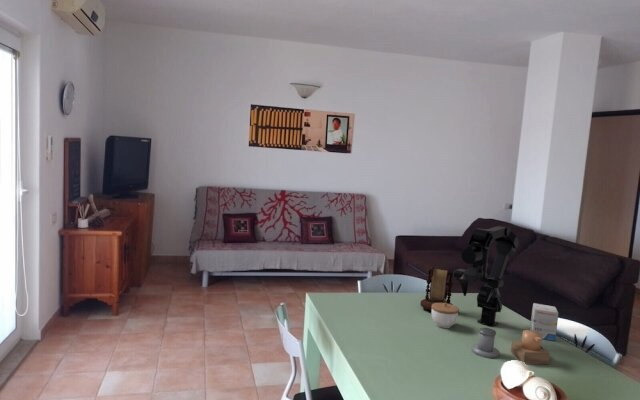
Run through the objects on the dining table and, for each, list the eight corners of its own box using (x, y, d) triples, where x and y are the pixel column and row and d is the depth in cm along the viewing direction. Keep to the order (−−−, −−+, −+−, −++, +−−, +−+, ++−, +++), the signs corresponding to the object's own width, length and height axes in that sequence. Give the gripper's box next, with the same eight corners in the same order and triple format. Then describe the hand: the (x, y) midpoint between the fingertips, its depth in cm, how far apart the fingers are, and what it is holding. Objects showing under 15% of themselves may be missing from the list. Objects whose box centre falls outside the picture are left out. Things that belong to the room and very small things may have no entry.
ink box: (552, 333, 186) (555, 306, 185) (555, 341, 178) (559, 312, 177) (529, 329, 189) (532, 302, 187) (531, 337, 181) (535, 308, 179)
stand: (510, 351, 165) (511, 341, 164) (534, 352, 165) (535, 342, 165) (523, 363, 156) (525, 352, 155) (548, 364, 157) (550, 353, 156)
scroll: (417, 311, 201) (421, 266, 199) (423, 301, 215) (427, 260, 213) (451, 317, 196) (456, 272, 194) (455, 308, 209) (459, 265, 207)
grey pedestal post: (478, 344, 169) (481, 324, 168) (502, 353, 163) (505, 332, 162) (467, 351, 163) (469, 329, 162) (491, 360, 156) (494, 338, 155)
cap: (518, 343, 163) (519, 329, 162) (534, 343, 163) (535, 330, 163) (529, 352, 155) (531, 338, 155) (546, 353, 156) (548, 339, 155)
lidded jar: (458, 332, 180) (460, 309, 179) (430, 328, 182) (432, 305, 181) (455, 322, 191) (458, 300, 190) (429, 318, 193) (431, 297, 192)
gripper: (448, 257, 181) (444, 296, 182) (493, 268, 168) (489, 309, 169) (461, 254, 189) (457, 291, 190) (506, 265, 176) (501, 304, 177)
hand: (475, 299), depth 182 cm, fingers open, 9 cm apart
